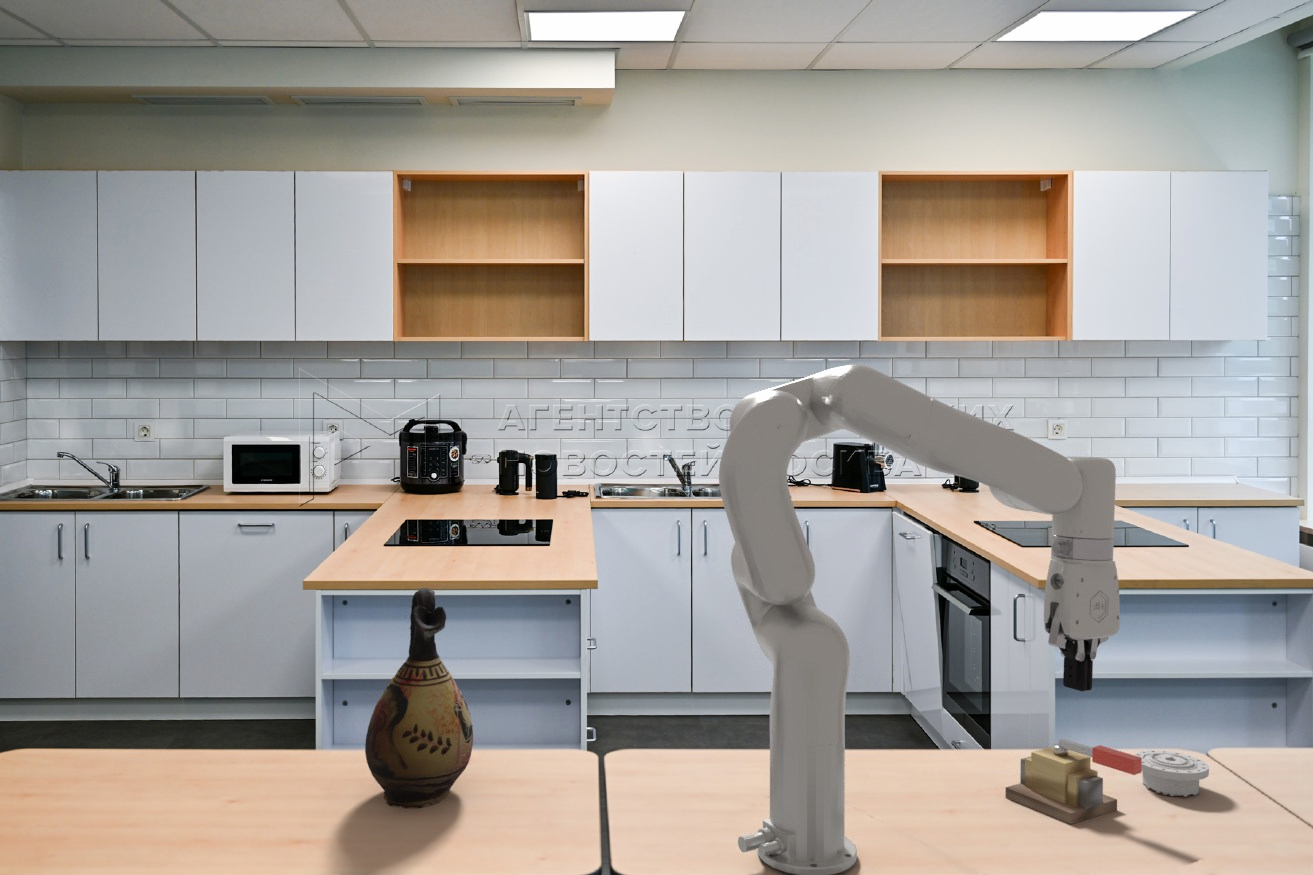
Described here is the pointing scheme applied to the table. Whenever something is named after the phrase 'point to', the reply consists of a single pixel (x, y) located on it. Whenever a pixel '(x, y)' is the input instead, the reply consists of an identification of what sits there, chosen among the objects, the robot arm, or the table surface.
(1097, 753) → the valve lever
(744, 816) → the table surface
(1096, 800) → the valve block
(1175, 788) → the mechanical component
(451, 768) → the ceramic jug
